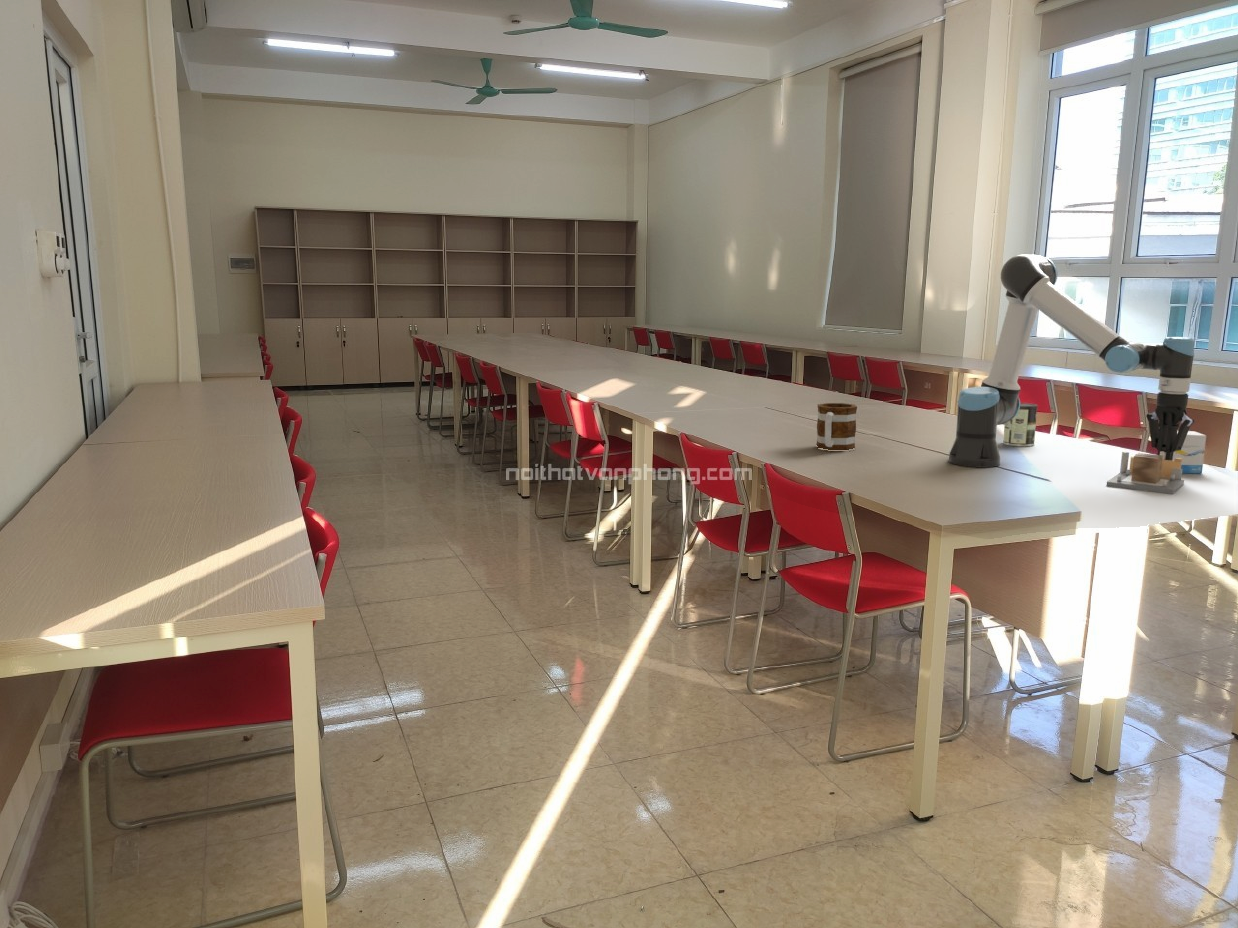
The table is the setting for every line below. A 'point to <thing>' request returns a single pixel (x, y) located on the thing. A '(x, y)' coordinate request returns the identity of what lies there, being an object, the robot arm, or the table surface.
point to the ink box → (1192, 452)
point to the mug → (836, 426)
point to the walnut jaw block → (1147, 468)
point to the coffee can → (1021, 427)
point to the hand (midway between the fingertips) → (1162, 473)
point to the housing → (1162, 486)
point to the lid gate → (1164, 466)
